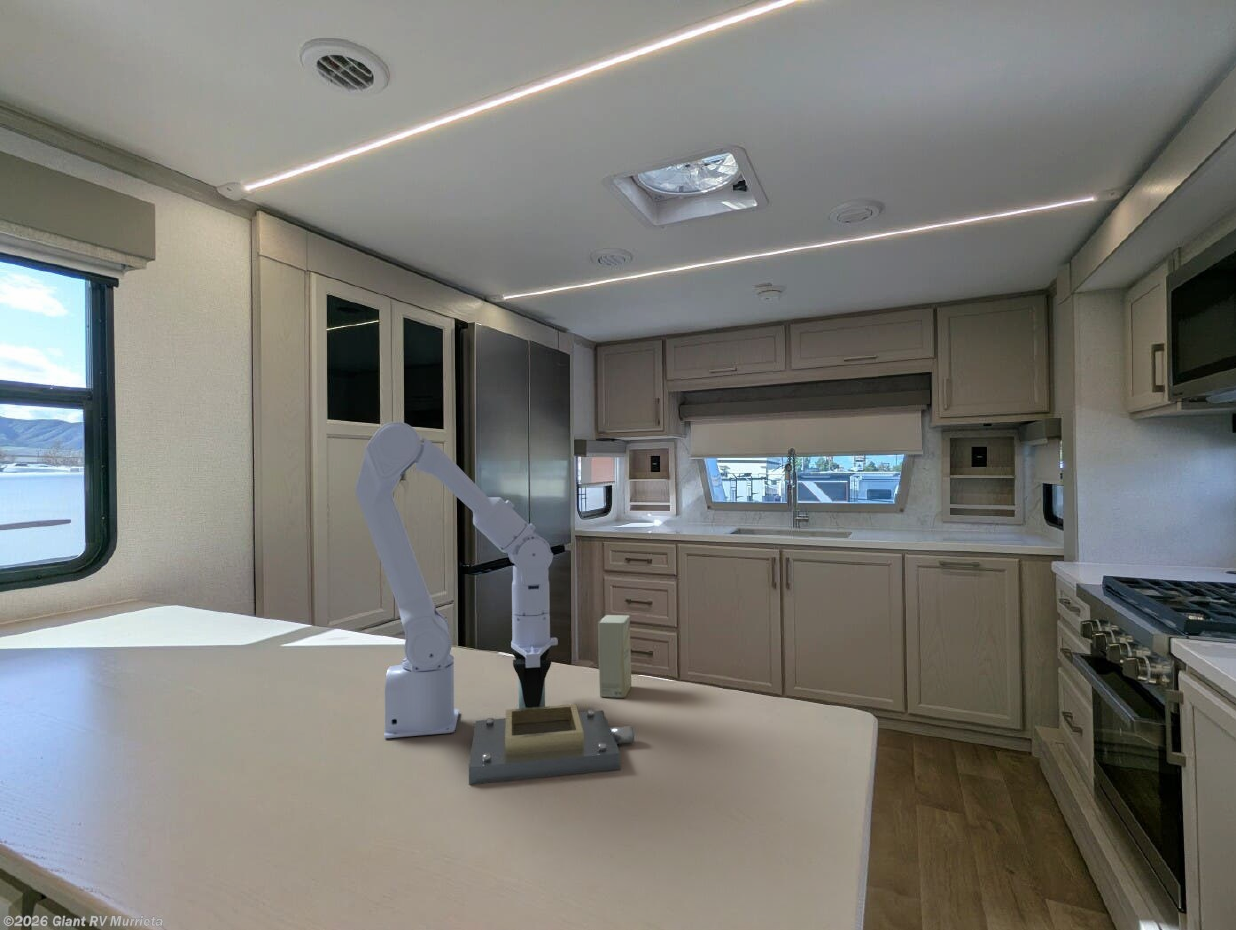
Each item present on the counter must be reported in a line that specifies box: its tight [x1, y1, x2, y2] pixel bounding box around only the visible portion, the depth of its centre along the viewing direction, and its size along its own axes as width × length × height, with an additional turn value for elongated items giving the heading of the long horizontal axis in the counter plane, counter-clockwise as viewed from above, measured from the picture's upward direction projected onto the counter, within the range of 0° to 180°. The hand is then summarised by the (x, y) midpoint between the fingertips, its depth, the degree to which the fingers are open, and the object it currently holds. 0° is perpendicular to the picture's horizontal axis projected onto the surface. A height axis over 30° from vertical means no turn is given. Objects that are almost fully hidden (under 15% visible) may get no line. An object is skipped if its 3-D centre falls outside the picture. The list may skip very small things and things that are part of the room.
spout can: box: [518, 679, 546, 709], centre depth 93 cm, size 4×4×7 cm
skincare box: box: [597, 614, 632, 699], centre depth 101 cm, size 6×4×12 cm
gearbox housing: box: [468, 703, 635, 786], centre depth 80 cm, size 21×14×4 cm, turn 100°
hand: (532, 701), depth 93 cm, fingers closed on spout can, 4 cm apart
